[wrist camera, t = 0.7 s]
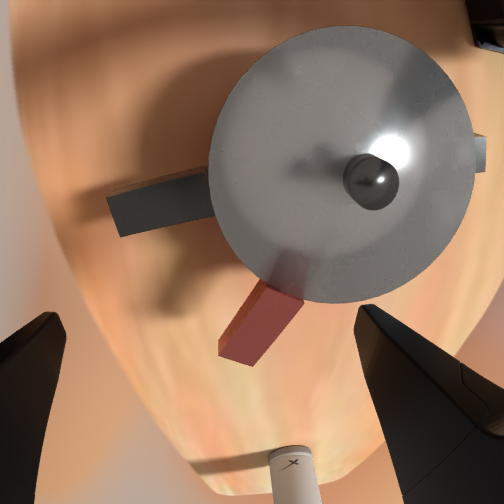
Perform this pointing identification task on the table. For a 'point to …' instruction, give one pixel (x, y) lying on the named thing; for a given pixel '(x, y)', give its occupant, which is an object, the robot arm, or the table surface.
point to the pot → (185, 198)
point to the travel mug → (293, 476)
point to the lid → (336, 174)
